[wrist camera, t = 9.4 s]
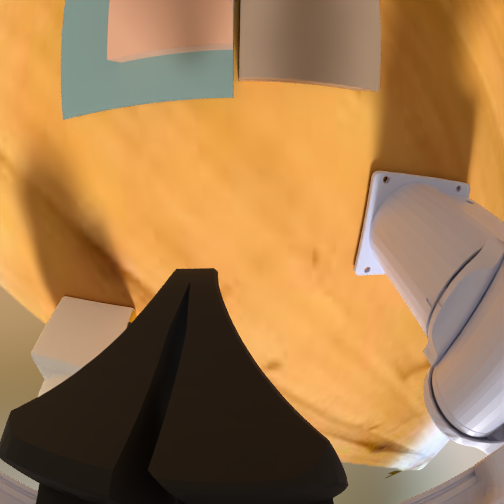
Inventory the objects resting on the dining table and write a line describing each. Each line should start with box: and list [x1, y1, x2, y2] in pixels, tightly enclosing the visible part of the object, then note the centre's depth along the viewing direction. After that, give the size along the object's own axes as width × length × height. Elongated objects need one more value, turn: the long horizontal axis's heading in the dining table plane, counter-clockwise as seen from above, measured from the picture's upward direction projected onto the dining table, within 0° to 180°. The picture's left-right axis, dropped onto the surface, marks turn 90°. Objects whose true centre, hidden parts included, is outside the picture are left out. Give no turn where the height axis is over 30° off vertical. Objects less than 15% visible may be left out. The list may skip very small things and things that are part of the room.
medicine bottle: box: [31, 296, 136, 397], centre depth 18 cm, size 7×7×12 cm
